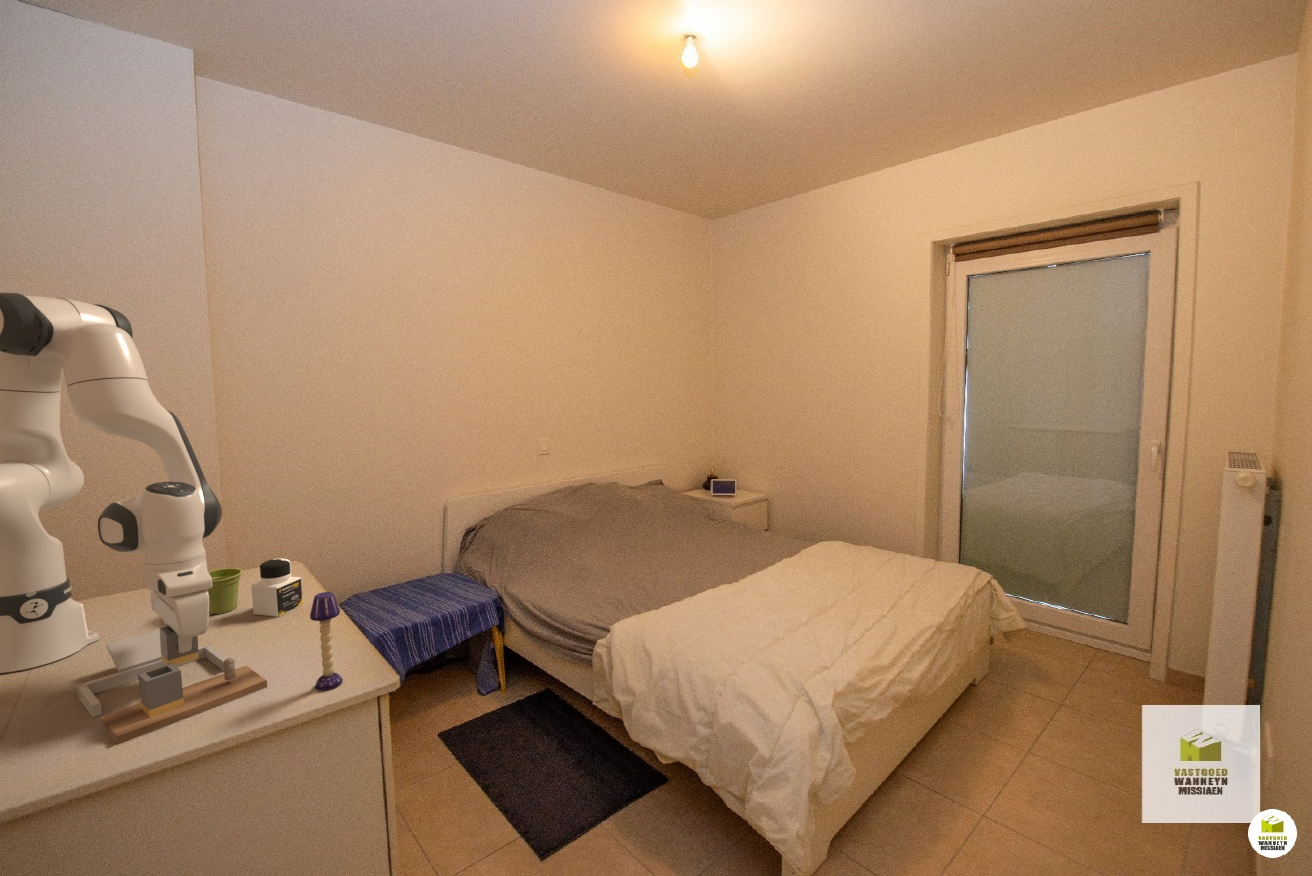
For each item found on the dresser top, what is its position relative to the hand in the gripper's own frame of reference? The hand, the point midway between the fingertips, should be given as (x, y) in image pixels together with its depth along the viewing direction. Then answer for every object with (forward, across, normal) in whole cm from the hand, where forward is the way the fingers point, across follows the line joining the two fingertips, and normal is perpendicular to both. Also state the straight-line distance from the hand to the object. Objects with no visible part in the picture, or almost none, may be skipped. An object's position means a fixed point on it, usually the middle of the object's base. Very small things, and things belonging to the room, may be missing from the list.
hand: (179, 645), depth 107 cm
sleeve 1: (+2, 0, 0) cm, 2 cm away
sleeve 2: (+5, +12, -5) cm, 14 cm away
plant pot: (+7, -31, +15) cm, 35 cm away
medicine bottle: (+6, -20, +23) cm, 31 cm away
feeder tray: (+6, -5, -3) cm, 9 cm away
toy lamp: (+5, +24, +16) cm, 29 cm away
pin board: (+6, +12, -2) cm, 14 cm away
